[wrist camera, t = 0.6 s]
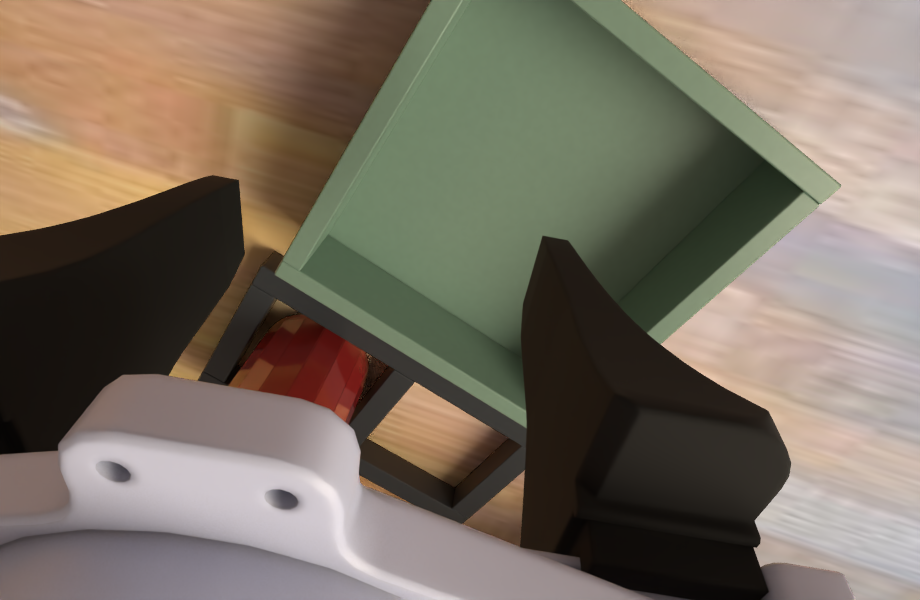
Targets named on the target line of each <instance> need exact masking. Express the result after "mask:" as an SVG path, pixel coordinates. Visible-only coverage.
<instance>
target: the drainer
mask: <svg viewBox="0 0 920 600" xmlns="http://www.w3.org/2000/svg"><path fill="white" fill-rule="evenodd" d="M282 260H283V256H282V255H280V254H278V253H277V252H273V253H272V254H271V255H270V257H269V258H268V259H267V260H266V261H265V262H264V263H263V264H262V265H261V267H260V269H259V271H258V272H257V274H256V276H255V278H254V280H253V282H252V284H251V285H250V287H249V289H248V291H247V292H246V294H245V296H244V298H243V300H242V301H241V303H240V305H239V307H238V309H237V310H236V312H235V314H234V316H233V318H232V320H231V321H230V323H229V325H228V327H227V329H226V330H225V332H224V334H223V336H222V338H221V339H220V341H219V343H218V345H217V347H216V348H215V350H214V352H213V354H212V356H211V358H210V359H209V361H208V363H207V365H206V367H205V368H204V370H203V372H202V374H201V375H200V377H199V379H198V381H201V382H207V383H213V384H219V385H224V386H228V385H229V384H230V382H231V381H232V380H233V378H234V377H235V376H236V374H237V373H238V371H239V370H240V369H241V368H240V367H239V366H237V365H238V363H239V362H240V360H241V358H242V357H243V355H244V353H245V352H246V350H247V348H248V347H249V345H250V343H251V342H252V340H253V338H254V337H255V335H256V333H257V331H258V330H259V328H260V326H261V325H262V323H263V321H264V320H265V318H266V316H267V315H268V313H269V311H270V310H271V308H272V306H273V305H274V303H275V301H276V300H277V299H278V300H280V301H281V302H283V303H285V304H286V305H288V306H290V307H291V308H293V309H295V310H296V311H298V312H300V313H301V314H303V315H305V316H306V317H308V318H310V319H311V320H313V321H315V322H316V323H318V324H320V325H321V326H323V327H325V328H326V329H328V330H330V331H331V332H333V333H335V334H336V335H338V336H340V337H341V338H343V339H345V340H346V341H348V342H350V343H351V344H353V345H355V346H356V347H358V348H360V349H361V350H363V351H365V352H366V353H368V354H370V355H371V356H373V357H375V358H376V359H378V360H380V361H381V362H383V363H385V364H386V365H388V368H387V369H386V370H385V371H384V373H383V374H382V375H381V376H380V378H379V379H378V380H377V381H376V383H375V384H374V385H373V386H372V388H371V389H370V390H369V391H368V393H367V394H366V395H365V396H364V397H363V399H362V400H361V401H360V402H359V404H358V405H357V406H356V407H355V410H354V412H353V415H352V417H351V419H350V422H349V424H348V425H349V426H350V427H351V428H352V429H353V430H354V432H355V435H356V438H357V441H358V444H359V448H360V451H361V453H360V464H359V475H360V476H362V477H364V478H366V479H368V480H369V481H371V482H373V483H375V484H377V485H379V486H380V487H382V488H384V489H386V490H388V491H390V492H391V493H393V494H395V495H397V496H399V497H400V498H402V499H404V500H406V501H408V502H410V503H411V504H413V505H415V506H417V507H420V508H422V509H425V510H428V511H430V512H433V513H435V514H438V515H440V516H443V517H445V518H448V519H450V520H453V521H456V522H458V523H461V524H463V523H464V522H465V521H466V520H467V519H468V518H470V517H471V516H472V515H473V514H474V513H475V512H477V511H478V510H479V509H480V508H481V507H482V506H484V505H485V504H486V503H487V502H488V501H489V500H491V499H492V498H493V497H494V496H495V495H496V494H497V493H499V492H500V491H501V490H502V489H503V488H504V487H506V486H507V485H508V484H509V483H510V482H511V481H513V480H514V479H515V478H516V477H517V476H518V475H520V474H521V473H522V472H523V471H524V470H525V458H526V432H527V428H525V427H524V426H522V425H520V424H519V423H517V422H515V421H514V420H512V419H511V418H509V417H507V416H506V415H504V414H502V413H501V412H499V411H497V410H496V409H494V408H492V407H491V406H489V405H488V404H486V403H484V402H483V401H481V400H479V399H478V398H476V397H474V396H473V395H471V394H469V393H468V392H466V391H465V390H463V389H461V388H460V387H458V386H456V385H455V384H453V383H451V382H450V381H448V380H446V379H445V378H443V377H442V376H440V375H438V374H437V373H435V372H433V371H432V370H430V369H428V368H427V367H425V366H423V365H422V364H420V363H419V362H417V361H415V360H414V359H412V358H410V357H409V356H407V355H405V354H404V353H402V352H401V351H399V350H397V349H396V348H394V347H392V346H391V345H389V344H387V343H386V342H384V341H382V340H381V339H379V338H378V337H376V336H374V335H373V334H371V333H369V332H368V331H366V330H364V329H363V328H361V327H359V326H358V325H356V324H355V323H353V322H351V321H350V320H348V319H346V318H345V317H343V316H341V315H340V314H338V313H336V312H335V311H333V310H332V309H330V308H328V307H327V306H325V305H323V304H322V303H320V302H318V301H317V300H315V299H313V298H312V297H310V296H309V295H307V294H305V293H304V292H302V291H300V290H299V289H297V288H295V287H294V286H292V285H290V284H289V283H287V282H286V281H284V280H282V279H281V278H279V277H277V276H276V275H275V271H276V269H277V268H278V266H279V264H280V262H281V261H282ZM414 382H416V383H418V384H420V385H421V386H423V387H425V388H426V389H428V390H430V391H431V392H433V393H435V394H436V395H438V396H440V397H441V398H443V399H445V400H446V401H448V402H450V403H451V404H453V405H455V406H456V407H458V408H460V409H461V410H463V411H465V412H466V413H468V414H470V415H471V416H473V417H475V418H476V419H478V420H480V421H481V422H483V423H485V424H486V425H488V426H490V427H491V428H493V429H495V430H496V431H498V432H500V433H501V434H503V435H505V436H506V437H508V438H509V439H508V440H507V441H505V442H504V443H503V444H502V445H501V446H500V447H499V448H498V449H497V450H496V451H495V452H494V453H493V454H491V455H490V456H489V457H488V458H487V459H486V460H485V461H484V462H483V463H482V464H481V465H480V466H479V467H477V468H476V469H475V470H474V471H473V472H472V473H471V474H470V475H469V476H468V477H467V478H466V479H464V480H463V481H462V482H461V483H460V484H459V485H458V486H457V487H456V488H453V487H452V486H450V485H448V484H446V483H444V482H443V481H441V480H439V479H437V478H436V477H434V476H432V475H430V474H428V473H427V472H425V471H423V470H421V469H420V468H418V467H416V466H414V465H412V464H411V463H409V462H407V461H405V460H404V459H402V458H400V457H398V456H397V455H395V454H393V453H391V452H389V451H388V450H386V449H384V448H382V447H381V446H379V445H377V444H375V443H373V442H372V441H370V440H368V439H366V438H367V437H368V436H369V435H370V433H371V432H372V431H373V430H374V429H375V428H376V427H377V425H378V424H379V423H380V422H381V421H382V420H383V418H384V417H385V416H386V415H387V414H388V413H389V411H390V410H391V409H392V408H393V407H394V406H395V404H396V403H397V402H398V401H399V400H400V399H401V397H402V396H403V395H404V394H405V393H406V392H407V390H408V389H409V388H410V387H411V386H412V385H413V383H414Z"/></svg>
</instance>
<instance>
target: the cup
mask: <svg viewBox="0 0 920 600" xmlns="http://www.w3.org/2000/svg"><path fill="white" fill-rule="evenodd" d="M367 374H368V359H367V355H366V352H365V351H363V350H361V349H360V348H358V347H356V346H355V345H353V344H351V343H350V342H348V341H346V340H345V339H343V338H341V337H340V336H338V335H336V334H335V333H333V332H331V331H330V330H328V329H326V328H325V327H323V326H321V325H320V324H318V323H316V322H315V321H313V320H311V319H310V318H308V317H306V316H305V315H303V314H296V315H291V316H288V317H285V318H283V319H281V320H279V321H278V322H277V323H275V324H274V325H273V326H272V327H271V328H270V329H269V330H268V332H267V333H266V334H265V336H264V337H263V338H262V340H261V341H260V343H259V344H258V345H257V347H256V348H255V349H254V351H253V352H252V354H251V355H250V356H249V358H248V359H247V360H246V362H245V363H244V365H243V366H242V367H241V369H240V370H239V371H238V373H237V374H236V376H235V377H234V378H233V380H232V381H231V382H230V384H229V385H228V386H230V387H236V388H242V389H248V390H254V391H259V392H265V393H271V394H277V395H283V396H289V397H295V398H300V399H304V400H306V401H309V402H312V403H315V404H318V405H321V406H323V407H326V408H329V409H331V410H332V411H333V412H334V413H335V414H336V415H338V416H339V417H340V418H341V419H342V420H343V421H344V422H346V423H347V424H349V422H350V419H351V417H352V415H353V412H354V410H355V407H356V405H357V402H358V400H359V397H360V395H361V393H362V390H363V388H364V385H365V380H366V378H367Z"/></svg>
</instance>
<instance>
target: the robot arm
mask: <svg viewBox="0 0 920 600" xmlns="http://www.w3.org/2000/svg"><path fill="white" fill-rule="evenodd" d="M244 254H245V251H244V239H243V226H242V214H241V202H240V189H239V180H236V179H230V178H225V177H219V176H214V175H212V176H208V177H204V178H200V179H197V180H194V181H191V182H188V183H186V184H183V185H180V186H177V187H175V188H172V189H169V190H167V191H164V192H161V193H159V194H156V195H153V196H150V197H148V198H145V199H142V200H140V201H137V202H134V203H131V204H128V205H125V206H122V207H119V208H115V209H112V210H109V211H106V212H103V213H100V214H97V215H94V216H90V217H87V218H83V219H79V220H76V221H72V222H67V223H63V224H59V225H55V226H51V227H46V228H41V229H36V230H30V231H25V232H19V233H13V234H7V235H1V236H0V600H856V599H855V596H854V594H853V592H852V590H851V588H850V586H849V584H848V582H847V579H846V577H845V575H844V574H841V573H839V572H836V571H830V570H824V569H818V568H812V567H806V566H800V565H794V564H788V563H771V564H767V565H764V566H762V567H760V565H759V562H758V560H757V557H756V554H755V551H754V548H753V547H756V548H757V546H758V545H759V544H760V539H761V538H760V535H759V532H758V530H757V527H756V524H755V521H754V520H755V519H756V518H757V517H758V516H759V515H760V513H761V512H762V511H763V510H764V509H765V508H766V506H767V505H768V504H769V503H770V502H771V500H772V499H773V498H774V497H775V496H776V495H777V493H778V492H779V491H780V490H781V489H782V487H783V485H784V484H785V482H786V480H787V479H788V477H789V473H790V467H791V461H790V458H789V455H788V451H787V449H786V447H785V445H784V442H783V440H782V438H781V436H780V434H779V432H778V430H777V428H776V426H775V423H774V421H773V419H772V417H771V416H770V414H769V412H768V411H767V410H766V409H764V408H762V407H760V406H758V405H756V404H754V403H752V402H750V401H748V400H746V399H744V398H743V397H741V396H739V395H737V394H735V393H733V392H731V391H729V390H727V389H725V388H724V387H722V386H720V385H719V384H717V383H715V382H714V381H712V380H710V379H709V378H707V377H706V376H704V375H702V374H701V373H699V372H698V371H696V370H695V369H693V368H692V367H690V366H689V365H687V364H686V363H684V362H683V361H681V360H680V359H679V358H677V357H676V356H675V355H673V354H672V353H671V352H669V351H668V350H667V349H665V348H664V347H663V346H662V345H660V344H659V343H658V342H657V341H655V340H654V339H653V338H652V337H651V336H650V335H648V334H647V333H646V332H645V331H644V330H643V329H642V328H641V327H640V326H639V325H638V324H636V323H635V322H634V321H633V320H632V319H631V318H630V317H629V316H628V315H627V314H626V313H625V312H624V311H623V309H622V308H621V307H620V306H619V305H618V304H617V303H616V302H615V301H614V300H613V298H612V297H611V296H610V295H609V294H608V293H607V291H606V290H605V289H604V288H603V287H602V285H601V284H600V283H599V282H598V280H597V279H596V278H595V276H594V275H593V274H592V272H591V271H590V270H589V268H588V267H587V266H586V264H585V263H584V261H583V260H582V259H581V257H580V256H579V255H578V253H577V252H576V250H575V249H574V248H573V246H572V245H571V243H570V242H569V241H568V240H564V239H559V238H553V237H548V236H542V239H541V243H540V246H539V250H538V253H537V256H536V260H535V263H534V267H533V270H532V274H531V277H530V281H529V284H528V288H527V291H526V295H525V298H524V302H523V309H522V323H521V350H522V364H523V376H524V389H525V402H526V422H527V432H526V458H525V478H524V497H523V512H522V527H521V542H520V547H519V546H517V545H514V544H512V543H509V542H506V541H504V540H501V539H499V538H496V537H494V536H491V535H489V534H486V533H484V532H481V531H478V530H476V529H473V528H471V527H468V526H466V525H463V524H461V523H458V522H456V521H453V520H450V519H448V518H445V517H443V516H440V515H438V514H435V513H433V512H430V511H428V510H425V509H422V508H420V507H417V506H415V505H412V504H410V503H407V502H405V501H402V500H400V499H397V498H394V497H392V496H389V495H387V494H384V493H382V492H379V491H377V490H374V489H372V488H369V487H366V486H364V485H362V484H361V483H360V478H359V464H360V453H361V451H360V448H359V444H358V441H357V438H356V435H355V432H354V430H353V429H352V428H351V427H350V426H349V425H348V424H347V423H346V422H344V421H343V420H342V419H341V418H340V417H339V416H338V415H336V414H335V413H334V412H333V411H332V410H331V409H329V408H326V407H323V406H321V405H318V404H315V403H312V402H309V401H306V400H304V399H300V398H295V397H289V396H283V395H277V394H271V393H265V392H259V391H254V390H248V389H242V388H236V387H230V386H224V385H219V384H213V383H207V382H201V381H195V380H189V379H183V378H178V377H172V376H169V374H170V372H171V370H172V368H173V367H174V365H175V363H176V362H177V360H178V359H179V357H180V356H181V354H182V352H183V351H184V350H185V348H186V347H187V345H188V344H189V343H190V341H191V340H192V338H193V337H194V336H195V334H196V333H197V331H198V330H199V329H200V327H201V326H202V324H203V323H204V322H205V320H206V319H207V317H208V316H209V315H210V313H211V312H212V310H213V309H214V307H215V306H216V305H217V303H218V302H219V300H220V299H221V297H222V296H223V295H224V293H225V292H226V290H227V289H228V287H229V286H230V284H231V282H232V280H233V278H234V276H235V274H236V272H237V270H238V267H239V265H240V263H241V261H242V259H243V257H244Z"/></svg>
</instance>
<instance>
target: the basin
mask: <svg viewBox="0 0 920 600" xmlns="http://www.w3.org/2000/svg"><path fill="white" fill-rule="evenodd" d="M840 187H841V184H839V183H838V182H837V181H836V180H835V179H833V178H832V177H831V176H830V175H829V174H827V173H826V172H825V171H824V170H823V169H821V168H820V167H819V166H818V165H817V164H815V163H814V162H813V161H812V160H811V159H810V158H808V157H807V156H806V155H805V154H804V153H802V152H801V151H800V150H799V149H798V148H796V147H795V146H794V145H793V144H792V143H790V142H789V141H788V140H787V139H786V138H784V137H783V136H782V135H781V134H780V133H779V132H777V131H776V130H775V129H774V128H773V127H771V126H770V125H769V124H768V123H767V122H765V121H764V120H763V119H762V118H761V117H759V116H758V115H757V114H756V113H755V112H753V111H752V110H751V109H750V108H749V107H748V106H746V105H745V104H744V103H743V102H742V101H740V100H739V99H738V98H737V97H736V96H734V95H733V94H732V93H731V92H730V91H728V90H727V89H726V88H725V87H724V86H722V85H721V84H720V83H719V82H718V81H717V80H715V79H714V78H713V77H712V76H711V75H709V74H708V73H707V72H706V71H705V70H703V69H702V68H701V67H700V66H699V65H697V64H696V63H695V62H694V61H693V60H691V59H690V58H689V57H688V56H687V55H686V54H684V53H683V52H682V51H681V50H680V49H678V48H677V47H676V46H675V45H674V44H672V43H671V42H670V41H669V40H668V39H666V38H665V37H664V36H663V35H662V34H660V33H659V32H658V31H657V30H656V29H655V28H653V27H652V26H651V25H650V24H649V23H647V22H646V21H645V20H644V19H643V18H641V17H640V16H639V15H638V14H637V13H635V12H634V11H633V10H632V9H631V8H630V7H628V6H627V5H626V4H625V3H624V2H622V1H621V0H431V1H430V3H429V4H428V6H427V8H426V10H425V11H424V13H423V15H422V16H421V18H420V20H419V22H418V23H417V25H416V27H415V29H414V30H413V32H412V34H411V36H410V37H409V39H408V41H407V43H406V44H405V46H404V48H403V50H402V51H401V53H400V55H399V57H398V58H397V60H396V62H395V64H394V65H393V67H392V69H391V71H390V72H389V74H388V76H387V78H386V79H385V81H384V83H383V84H382V86H381V88H380V90H379V91H378V93H377V95H376V97H375V98H374V100H373V102H372V104H371V105H370V107H369V109H368V111H367V112H366V114H365V116H364V118H363V119H362V121H361V123H360V125H359V126H358V128H357V130H356V132H355V133H354V135H353V137H352V139H351V140H350V142H349V144H348V146H347V147H346V149H345V151H344V152H343V154H342V156H341V158H340V159H339V161H338V163H337V165H336V166H335V168H334V170H333V172H332V173H331V175H330V177H329V179H328V180H327V182H326V184H325V186H324V187H323V189H322V191H321V193H320V194H319V196H318V198H317V200H316V201H315V203H314V205H313V207H312V208H311V210H310V212H309V213H308V215H307V217H306V219H305V220H304V222H303V224H302V226H301V227H300V229H299V231H298V233H297V234H296V236H295V238H294V240H293V241H292V243H291V245H290V247H289V248H288V250H287V252H286V254H285V255H284V257H283V260H282V261H281V262H280V264H279V266H278V268H277V269H276V271H275V275H276V276H277V277H279V278H281V279H282V280H284V281H286V282H287V283H289V284H290V285H292V286H294V287H295V288H297V289H299V290H300V291H302V292H304V293H305V294H307V295H309V296H310V297H312V298H313V299H315V300H317V301H318V302H320V303H322V304H323V305H325V306H327V307H328V308H330V309H332V310H333V311H335V312H336V313H338V314H340V315H341V316H343V317H345V318H346V319H348V320H350V321H351V322H353V323H355V324H356V325H358V326H359V327H361V328H363V329H364V330H366V331H368V332H369V333H371V334H373V335H374V336H376V337H378V338H379V339H381V340H382V341H384V342H386V343H387V344H389V345H391V346H392V347H394V348H396V349H397V350H399V351H401V352H402V353H404V354H405V355H407V356H409V357H410V358H412V359H414V360H415V361H417V362H419V363H420V364H422V365H423V366H425V367H427V368H428V369H430V370H432V371H433V372H435V373H437V374H438V375H440V376H442V377H443V378H445V379H446V380H448V381H450V382H451V383H453V384H455V385H456V386H458V387H460V388H461V389H463V390H465V391H466V392H468V393H469V394H471V395H473V396H474V397H476V398H478V399H479V400H481V401H483V402H484V403H486V404H488V405H489V406H491V407H492V408H494V409H496V410H497V411H499V412H501V413H502V414H504V415H506V416H507V417H509V418H511V419H512V420H514V421H515V422H517V423H519V424H520V425H522V426H524V427H525V428H527V422H526V402H525V389H524V376H523V364H522V350H521V323H522V309H523V302H524V298H525V295H526V291H527V288H528V284H529V281H530V277H531V274H532V270H533V267H534V263H535V260H536V256H537V253H538V250H539V246H540V243H541V239H542V236H548V237H553V238H559V239H564V240H568V241H569V242H570V243H571V245H572V246H573V248H574V249H575V250H576V252H577V253H578V255H579V256H580V257H581V259H582V260H583V261H584V263H585V264H586V266H587V267H588V268H589V270H590V271H591V272H592V274H593V275H594V276H595V278H596V279H597V280H598V282H599V283H600V284H601V285H602V287H603V288H604V289H605V290H606V291H607V293H608V294H609V295H610V296H611V297H612V298H613V300H614V301H615V302H616V303H617V304H618V305H619V306H620V307H621V308H622V309H623V311H624V312H625V313H626V314H627V315H628V316H629V317H630V318H631V319H632V320H633V321H634V322H635V323H636V324H638V325H639V326H640V327H641V328H642V329H643V330H644V331H645V332H646V333H647V334H648V335H650V336H651V337H652V338H653V339H654V340H655V341H657V342H658V343H659V344H661V343H663V342H664V341H665V340H666V339H667V338H668V337H669V336H671V335H672V334H673V333H674V332H675V331H676V330H677V329H679V328H680V327H681V326H682V325H683V324H684V323H685V322H687V321H688V320H689V319H690V318H691V317H692V316H693V315H695V314H696V313H697V312H698V311H699V310H700V309H701V308H703V307H704V306H705V305H706V304H707V303H708V302H710V301H711V300H712V299H713V298H714V297H715V296H716V295H718V294H719V293H720V292H721V291H722V290H723V289H724V288H726V287H727V286H728V285H729V284H730V283H731V282H732V281H734V280H735V279H736V278H737V277H738V276H739V275H740V274H742V273H743V272H744V271H745V270H746V269H747V268H748V267H750V266H751V265H752V264H753V263H754V262H755V261H756V260H758V259H759V258H760V257H761V256H762V255H763V254H765V253H766V252H767V251H768V250H769V249H770V248H771V247H773V246H774V245H775V244H776V243H777V242H778V241H779V240H781V239H782V238H783V237H784V236H785V235H786V234H787V233H789V232H790V231H791V230H792V229H793V228H794V227H795V226H797V225H798V224H799V223H800V222H801V221H802V220H803V219H805V218H806V217H807V216H808V215H809V214H810V213H812V212H813V211H814V210H815V209H816V208H817V207H818V206H819V204H822V203H823V202H824V201H825V200H826V199H828V198H829V197H830V196H831V195H832V194H833V193H834V192H836V191H837V190H838V189H839V188H840Z"/></svg>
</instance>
